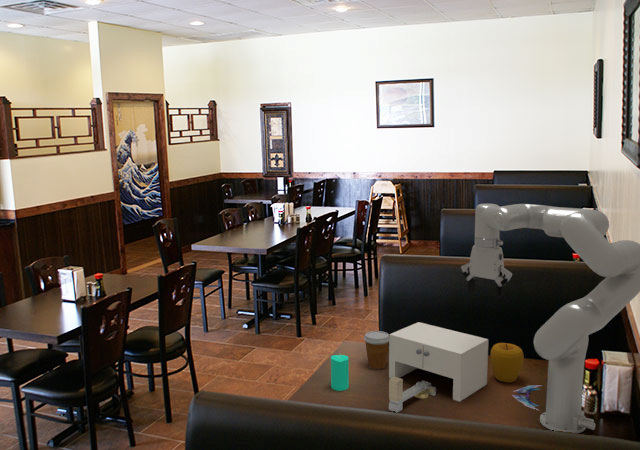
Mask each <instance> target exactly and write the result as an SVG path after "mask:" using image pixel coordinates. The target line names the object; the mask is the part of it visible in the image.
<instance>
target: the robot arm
mask: <svg viewBox="0 0 640 450" xmlns="http://www.w3.org/2000/svg"><path fill="white" fill-rule="evenodd" d="M474 218H475V219H474V245H473V246H472V248H471V251H470V257H469V258H470V259H469V262H468V263H466V264H463V265H461V266H460V268H461V272H462V274H463V276H464V277H465V278H466V281H467V290H468V294H472V293H474V292H476V279H475V278H476V277H477V278H482V279H486V280H487V279H488V280H494V282H495V283H496V284H497V286H496V287H495V288H496V289H495V298H496V300H497V299H501V298H502V297H503V296H504V294H505V293H504V290H505V289H504V288H505V286H506V284H507V283H508V282H509V281H510V280H511V278H512V276H513V273H512V272H511V271H510V270H508V269H507V268H505V263H504V253H503V249H502V247H500V246H503V245H504V241H503V240H501V237H500V231H501V232H507V231H513V230H516V229H524V228H526V229H527V228H528V229H538V230H542V231H544V233H545V234H546V235H547V236H549V237H555V238H563V239H564V241H566V243H567V244H568V245H569V246H570V248H571V249H572V250H573V251H574V252H575V253H576V254H577V255H578V257H579V258H580V259H582V261H583V262H584V263H585V264H586V265H587V266H588V268H590V270H592V271H593V272H594V273H595V274H597V275H598V276H600V277H604V279H602V280H601V281H600V282H599V283H597V284H598V285H596V286H595V287H594V289H592V290H591V291H590V292H589V293H588V294H587V295H585V296H584V297H582V298H578V299H575V300H573V301H570V302H569V303H566V304H565V305H563V306H562V307H560V308H559V309H558V310H557V311H556V312H554V314H553V315H552V316H551V317H550V318H549V319H547V320H546V322H545V323H543V324H542V325H541V326H540V328H539V329H537V331H536V332H535V334H534V337H533V347H534V350H535V352H536V353H537V355H539V357H541V358H542V359H545V360H547V361H548V364H547V378H546V379H547V381H546V398H545V399H546V400H545V401H546V402H545V411H544V412H542V413H541V414H540V416H539V422H540V423H541V425H542V426H543V427H545V428H546V429H548V430H550V431H552V430H554V431H553V432H555V431H563V432H572V433H577V434H580V433H582V432H584V431H585V430H586V429H588V430H592V431H594V430H595V429H596V423H595V420H594V419H593V418H588V417H586V416H585V411H584V410H582V402H583V401H582V400H583V399H582V397H583V384H584V383H583V381H584V371H585V369H584V368H585V361H586V355H587V351H588V348H589V347H588V346H589V335H592V334H593V333H596V332H598V331H600V330H602V329H603V328H605V326H607V324H608V323H609V322H610V321H611V320H612V319H613V318H614V317H615V316H617V315H618V314H619V313H620V312H622V310H623V309H624V308H625V307H626V306H627V305H628V304H629V303H630V302H631V301H632V300H633V299H635V297H637V296H638V294H639V293H640V243H639V242H637V241H634V240H628V239H627V240H626V239H623V240H617V241H613V242H610V241H608V239H607V238H606V237H605V235H606V234H607V232H608V231H609V228H610V221H609V218H608V217H607V215H606V214H605V213H604V212H602V211H600V210H596V209H591V208H579V207H578V208H575V207H564V206H563V207H562V206H561V207H559V206H553V205H552V206H551V205H545V204H543V205H542V204H531V203H518V204H517V203H516V204H508V205H502V206H499V204H495V203H479V204H476V207H475V217H474ZM468 268H469V269H468ZM468 270H469V271H468ZM504 275H505V277H504ZM503 277H504V278H503Z"/></svg>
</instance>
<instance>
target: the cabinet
mask: <svg viewBox="0 0 640 450" xmlns="http://www.w3.org/2000/svg"><path fill="white" fill-rule="evenodd" d="M388 334H389V333H388ZM388 350H389V351H388V379H391V378H393V377H398V378H401V377H404V376H405V375H407V374H409V373H412V372H413V371H415V370H417V369H420V370H423V371H426V372H430V373H433V374H436V375H439V376H443V377H447V378H450V379H451V380H452V379H453V380H452V381H453V382H452V383H453V385H452V400H453V401H456V402H459V403H460V402H462V401H463V400H465V399H467V398H468V397H469V396H472V395H473V394H474V393H476V392H477V391H478V390H480V389H482V388H484V387H485V386H487V384H488V361H489V338H484V337H481V336H477V335H473V334H468V333H464V332H459V331H455V330H452V329H447V328H444V327H441V326H436V325H431V324H428V323H424V322H418V321H417V322H416V323H413V324H411V325H408V326H406V327H403V328H401V329H398V330H397V331H394V332H392V333H390V334H389V343H388Z"/></svg>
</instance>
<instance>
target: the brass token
mask: <svg viewBox="0 0 640 450" xmlns="http://www.w3.org/2000/svg"><path fill="white" fill-rule="evenodd" d="M429 395H430V394H429V393H428V391H426V390H423V391H421V392H419V393H418V394H416V395H414V396H413V397H415V398H417V399H421V400H422V399H427V398H429Z"/></svg>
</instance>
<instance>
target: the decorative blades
mask: <svg viewBox="0 0 640 450" xmlns="http://www.w3.org/2000/svg"><path fill="white" fill-rule="evenodd" d="M539 387H542V385H540V384H539V385H537V384H535V385H534V384H533V385H526V386H524V387H520V388H519V387H518V388H519V389H516V390H513V391H512V393H517V394H511V396H512V397H513V398H515V400H517V402H520V404H521V403H522V404H523V406H525V407H527V408H530V409H533V410H535V409H536V411H539V409H538V408H536V407H539V405H538V404H536V403H534V402H532V401H531V400H532V398H531V397H529V396H530V394H531V393H532V392H533V391H538V390H540V388H539ZM531 395H532V394H531Z"/></svg>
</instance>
